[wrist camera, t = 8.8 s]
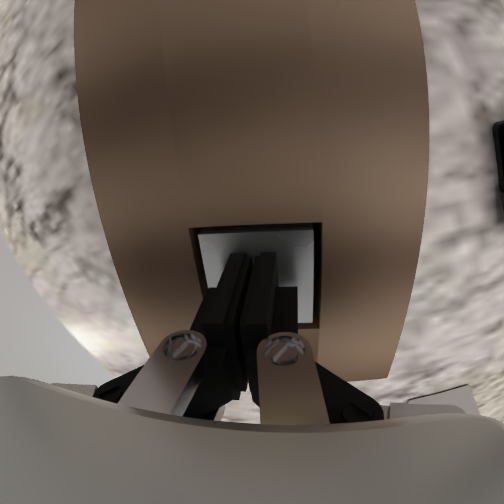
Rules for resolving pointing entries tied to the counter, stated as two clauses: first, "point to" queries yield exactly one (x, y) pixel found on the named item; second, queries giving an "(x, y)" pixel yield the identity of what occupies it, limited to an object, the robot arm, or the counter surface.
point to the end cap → (500, 154)
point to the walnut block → (260, 153)
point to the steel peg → (265, 240)
